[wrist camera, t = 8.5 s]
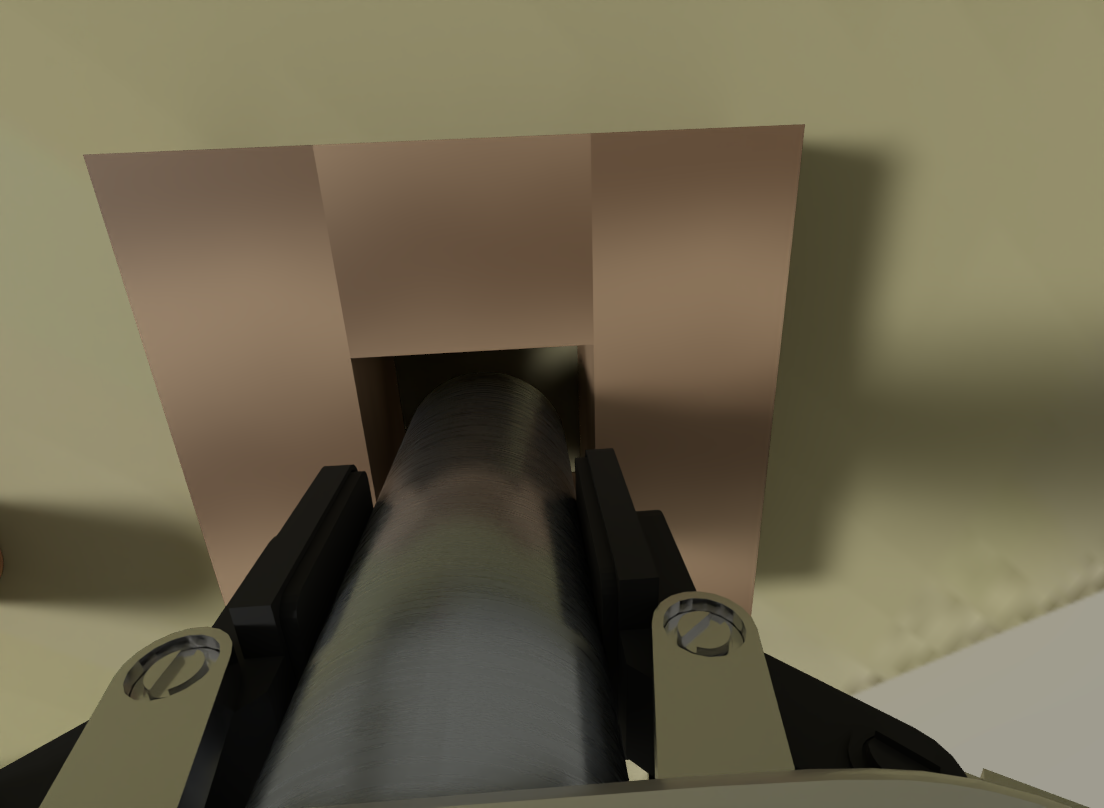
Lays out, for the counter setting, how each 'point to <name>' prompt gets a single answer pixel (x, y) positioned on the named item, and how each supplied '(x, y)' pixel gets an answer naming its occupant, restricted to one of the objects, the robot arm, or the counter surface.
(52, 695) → the counter surface
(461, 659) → the long pin
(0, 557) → the short pin
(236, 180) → the socket block
